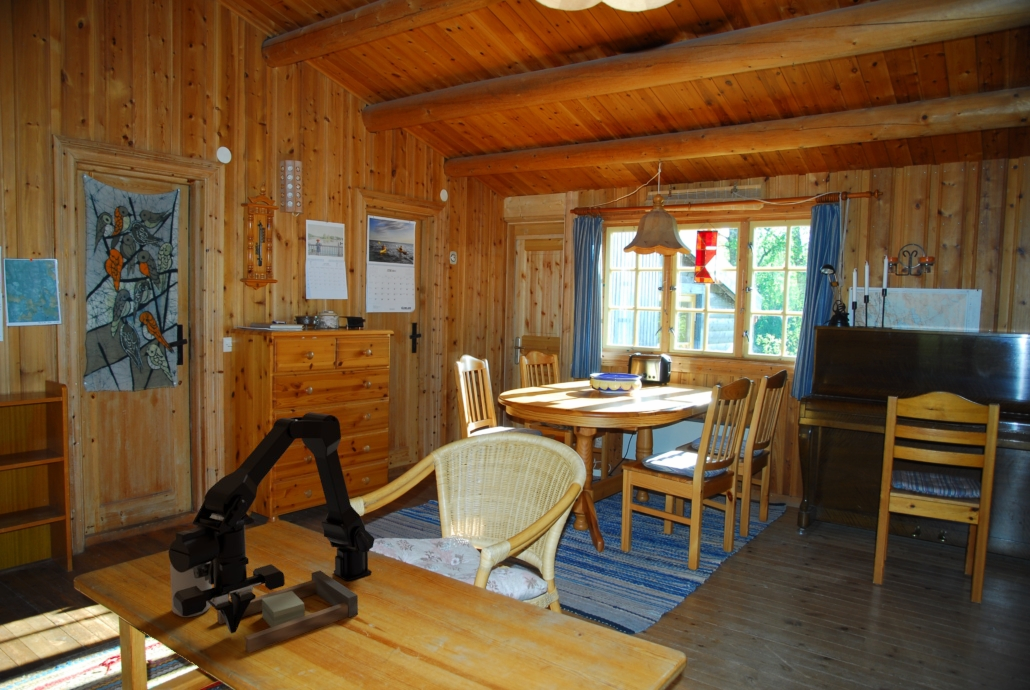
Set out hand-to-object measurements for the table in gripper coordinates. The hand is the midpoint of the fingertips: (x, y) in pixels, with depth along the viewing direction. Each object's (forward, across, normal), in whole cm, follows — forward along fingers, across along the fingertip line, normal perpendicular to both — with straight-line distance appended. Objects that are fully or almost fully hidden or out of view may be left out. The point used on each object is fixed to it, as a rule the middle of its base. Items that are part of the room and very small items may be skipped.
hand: (232, 632), depth 130 cm
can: (+1, +2, -16) cm, 16 cm away
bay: (+1, -11, 0) cm, 11 cm away
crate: (+1, -10, 0) cm, 10 cm away
